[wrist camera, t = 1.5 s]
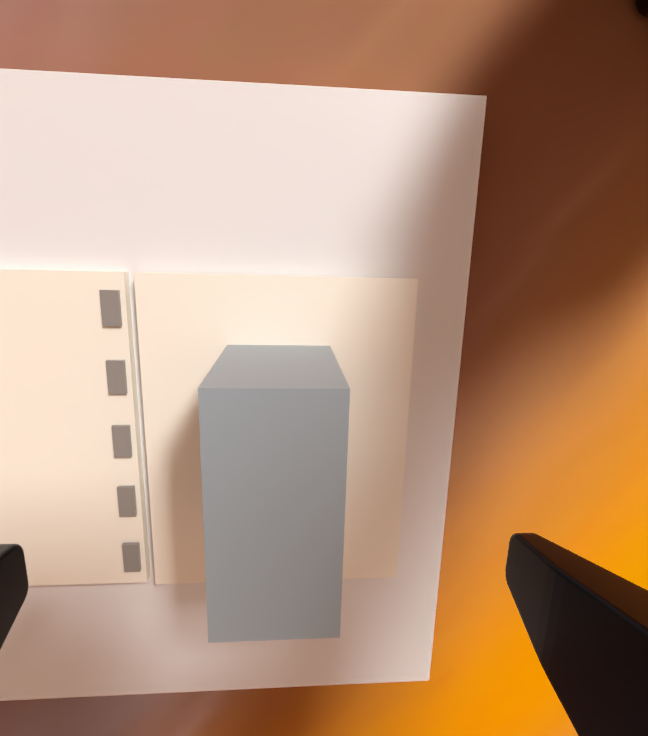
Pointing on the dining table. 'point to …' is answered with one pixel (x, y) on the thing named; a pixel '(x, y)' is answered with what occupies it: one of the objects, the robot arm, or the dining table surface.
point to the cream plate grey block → (274, 440)
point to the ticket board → (122, 360)
